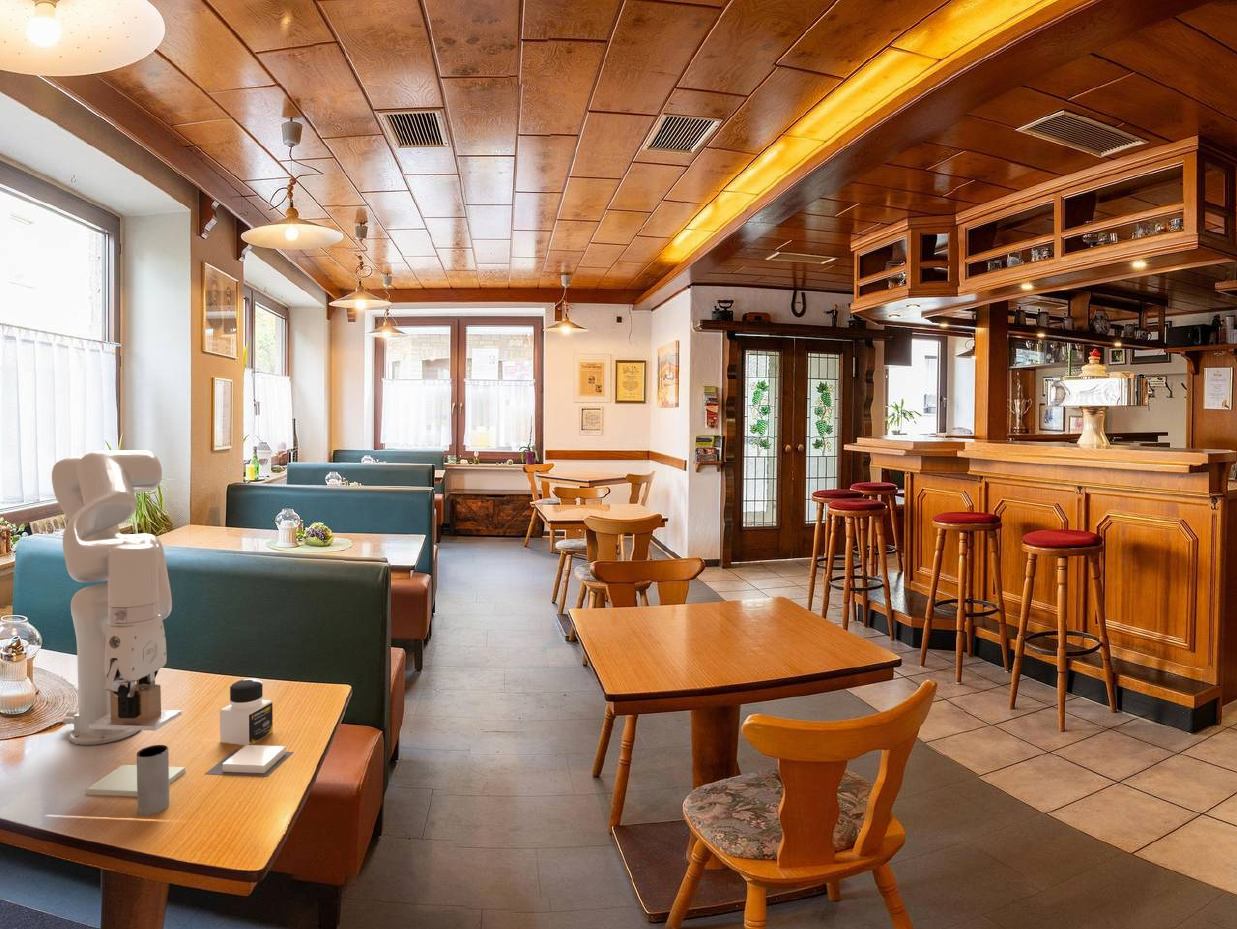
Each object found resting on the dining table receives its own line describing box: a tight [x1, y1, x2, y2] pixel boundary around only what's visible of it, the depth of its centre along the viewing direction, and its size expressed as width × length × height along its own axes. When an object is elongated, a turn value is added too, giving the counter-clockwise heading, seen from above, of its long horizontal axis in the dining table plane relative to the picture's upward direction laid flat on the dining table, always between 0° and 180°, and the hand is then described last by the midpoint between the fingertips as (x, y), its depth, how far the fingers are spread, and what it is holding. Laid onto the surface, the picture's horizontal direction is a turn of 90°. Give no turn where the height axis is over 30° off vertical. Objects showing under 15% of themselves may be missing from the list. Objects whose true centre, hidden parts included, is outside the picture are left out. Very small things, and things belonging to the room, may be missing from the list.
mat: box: [204, 749, 295, 778], centre depth 138 cm, size 12×10×1 cm
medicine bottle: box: [219, 678, 274, 746], centre depth 149 cm, size 7×7×12 cm
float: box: [89, 683, 182, 732], centre depth 129 cm, size 12×7×6 cm, turn 88°
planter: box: [136, 744, 170, 816], centre depth 122 cm, size 4×4×10 cm
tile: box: [223, 744, 287, 773], centre depth 138 cm, size 2×8×8 cm
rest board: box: [85, 764, 186, 797], centre depth 130 cm, size 12×9×1 cm
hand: (136, 712), depth 129 cm, fingers closed on float, 3 cm apart
